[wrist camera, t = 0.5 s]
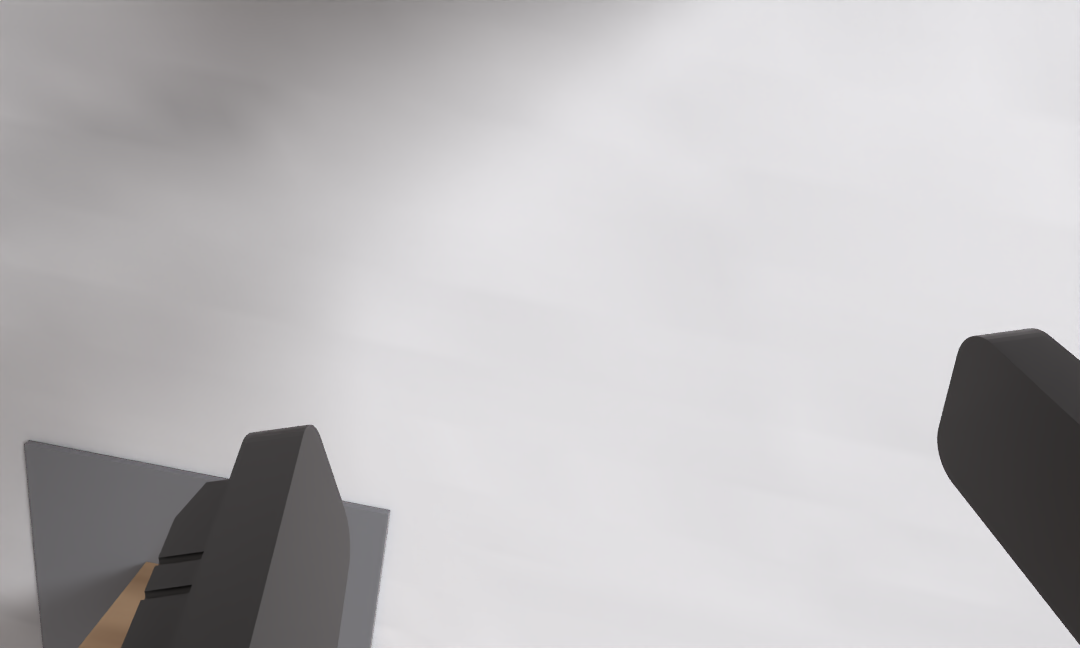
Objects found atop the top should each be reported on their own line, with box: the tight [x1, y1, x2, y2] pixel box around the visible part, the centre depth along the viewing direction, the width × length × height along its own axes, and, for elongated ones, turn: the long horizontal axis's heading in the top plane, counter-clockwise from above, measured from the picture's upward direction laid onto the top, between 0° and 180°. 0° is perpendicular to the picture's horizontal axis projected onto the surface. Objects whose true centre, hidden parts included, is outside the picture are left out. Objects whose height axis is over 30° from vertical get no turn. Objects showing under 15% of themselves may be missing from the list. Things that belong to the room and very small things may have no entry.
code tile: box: [24, 441, 390, 648], centre depth 36 cm, size 16×16×1 cm
